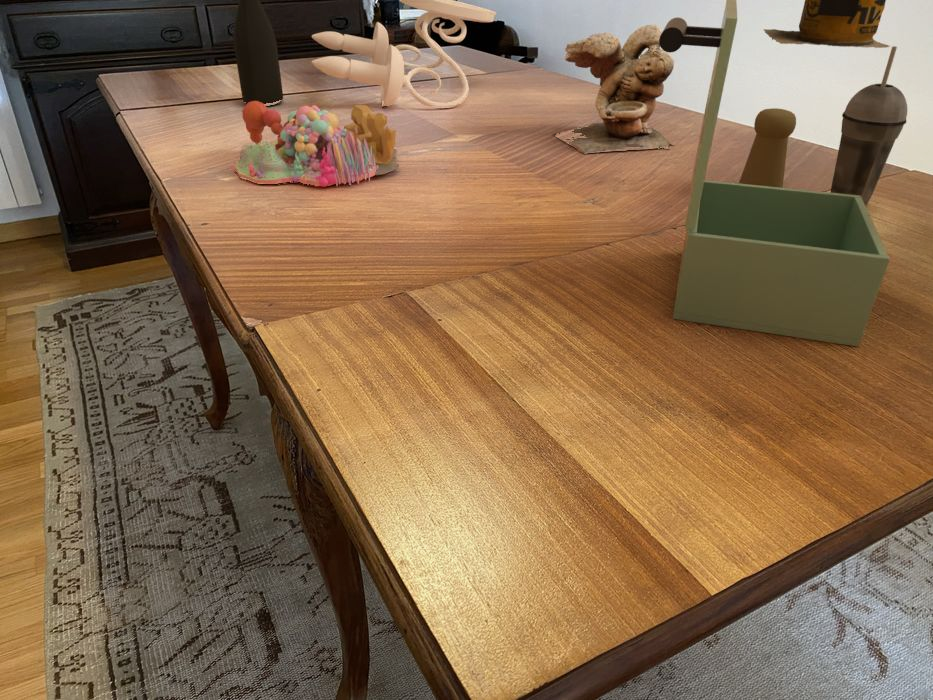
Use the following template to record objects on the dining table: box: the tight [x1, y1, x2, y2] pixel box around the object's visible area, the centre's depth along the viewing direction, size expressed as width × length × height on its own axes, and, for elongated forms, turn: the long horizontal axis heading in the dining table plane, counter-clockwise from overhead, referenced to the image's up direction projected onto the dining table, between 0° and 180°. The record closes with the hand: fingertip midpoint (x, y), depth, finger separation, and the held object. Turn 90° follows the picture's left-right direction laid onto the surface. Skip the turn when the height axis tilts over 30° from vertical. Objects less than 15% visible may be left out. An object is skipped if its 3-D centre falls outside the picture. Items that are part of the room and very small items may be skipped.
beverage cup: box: [829, 45, 908, 207], centre depth 89 cm, size 7×7×20 cm
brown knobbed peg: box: [738, 107, 797, 188], centre depth 97 cm, size 6×6×11 cm
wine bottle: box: [233, 0, 284, 104], centre depth 134 cm, size 8×8×30 cm
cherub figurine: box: [564, 24, 675, 154], centre depth 117 cm, size 18×18×18 cm
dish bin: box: [672, 179, 890, 348], centre depth 70 cm, size 16×16×9 cm
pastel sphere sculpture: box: [233, 101, 400, 188], centre depth 105 cm, size 25×24×9 cm
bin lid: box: [659, 0, 738, 230], centre depth 66 cm, size 17×16×6 cm
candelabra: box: [311, 0, 497, 107], centre depth 150 cm, size 20×45×37 cm
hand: (830, 10), depth 59 cm, fingers closed on condiment, 6 cm apart
